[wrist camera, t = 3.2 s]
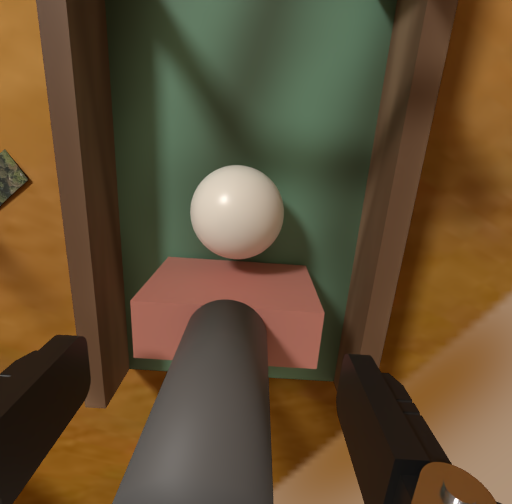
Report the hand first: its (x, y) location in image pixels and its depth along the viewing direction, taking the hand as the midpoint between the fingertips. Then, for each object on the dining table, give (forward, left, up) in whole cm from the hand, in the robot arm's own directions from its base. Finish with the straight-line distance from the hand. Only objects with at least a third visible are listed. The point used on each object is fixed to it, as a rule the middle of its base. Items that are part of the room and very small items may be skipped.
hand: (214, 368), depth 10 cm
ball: (0, -4, -5) cm, 7 cm away
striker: (0, 0, -7) cm, 7 cm away
